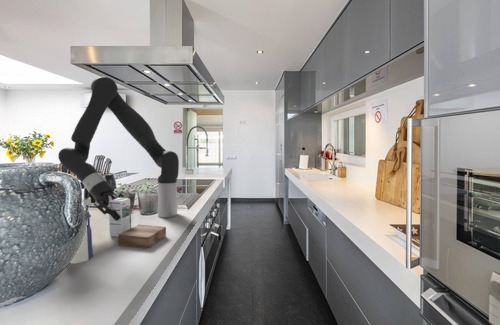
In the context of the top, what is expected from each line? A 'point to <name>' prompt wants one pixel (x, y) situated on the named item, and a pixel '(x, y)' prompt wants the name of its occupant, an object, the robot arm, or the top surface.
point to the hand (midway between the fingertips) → (124, 216)
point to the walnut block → (142, 236)
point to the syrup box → (124, 211)
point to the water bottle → (86, 247)
